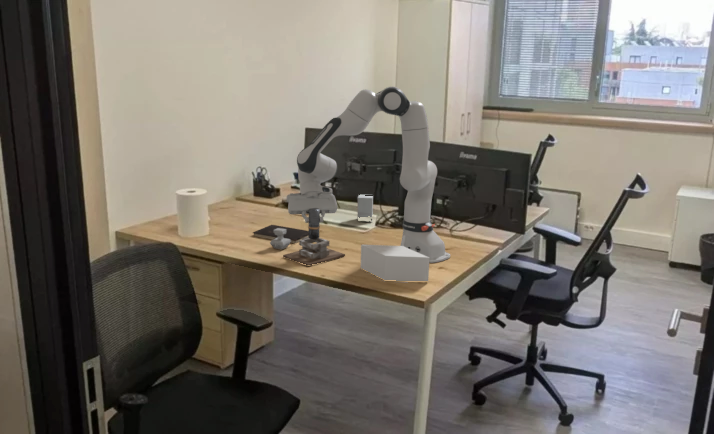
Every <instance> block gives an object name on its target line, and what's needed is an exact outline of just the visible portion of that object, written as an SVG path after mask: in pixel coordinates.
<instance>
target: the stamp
mask: <svg viewBox="0 0 714 434" xmlns="http://www.w3.org/2000/svg"><path fill="white" fill-rule="evenodd" d="M273 231H274V233H275V235H277V236H278V238H275V239H270V242H269V244H270V246H271V247H272V248H273V249H276V250H284V249H286V248H288V247H289V245H290V244H292V243H291V240H290V239H287V238H283V236H284V235H285V234H286V229H281V228H277V229H275V230H273Z"/></svg>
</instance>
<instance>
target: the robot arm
mask: <svg viewBox="0 0 714 434" xmlns="http://www.w3.org/2000/svg"><path fill="white" fill-rule="evenodd" d="M379 112H383V113H385V114H387V115H392V116H398V118H399V119H400V120H399V121H400V128H401V129H400V130H401V137H402V139H401V140H402V161H401V172H400V176H399V183H400V185H401V187H402V188H403V189H404V190H406V191H407V194H406V197H405V200H404V208H403V209H404V211H403V212H404V213H403V214H404V215H403V219H402V237H401V241H400V245H399V246H404V247H406V248H408V249H411V250H413V251H415V252H418V253H420V254H422V255H425V256H427V257H429V264H430V263H431V264H432V263H439V262H443V261H446V260H449V258H451V254H450V253H449V252H446V245H445V242H444V240H442V238H441V237H440V236H439V234H437V232H435V231H434V227H436V226H435V225H436V223H433V224H432V220H431V213H432V211H431V209H432V199H433V194H434V190H435V183H436V178H437V175H438V168H437V165H436V164H435V163H434V162H433V161H432V160H429V153H430V147H431V143H430V131H429V121H428V115H427V112H426V108H425V105H424V104H423V103H422V102H420V101H416V100H409V99H408V98H407V96H406V94H405V92H404V91H403V90H402V89H400V87H397V86H391V85H390V86H388V87H385V88H384V89H382V90H381V91H378V92H377V93H376V92H374V91H373V90H371V89H362V90H360V91H359V92H358V93H357V94H356V95H355V97H353V99H351V101H350V103H348V105H347V107H346V108H345V109H344V111H343V112H342V113H340V115H338V116H337V117H333V118H331V119H330V120H329V121H328V122H327V123H326V124H325V125H324V126H323V127H322V129H320V131H319V132H318V134H317V135H315V137H314V138H313V139H312V141H310V143H309V144H308V145H307V146H305V147H304V148H303V149H302V150H300V152H299V153H298V155H297V157H296V163H297V164H296V165H297V170H298V171H297V173H298V182H299V183H300V184H299V192H297V193H295V192H294V193H292V192H290V193H289V194H287V196H286V202H287V203H288V206H287V211H288V213H289V214H290V215H301V217H302V218H303V220H304V222H305V223H306V224H307V223H308V224H309V216H307V215H309V209H310V208H318V209H320V223H324V217H325V215H326V214H335V213H337V211H338V203H337V199H336V196H335V195H334V194H333V188H330V187H328V186H324V185H321V184H322V183H326V182H328V181H330V180H332V179H333V178H335V177H336V175H337V172H338V163H337V161H336V160H335V159H333V158H331V157H329V156H327V155H325V154H323V153H321V152H322V151H323V150H324V149H325V148H326V147H327V146H328V144H329V143H330V142H331V141H332V140H333V139H334V138H336V137H340V136H348V137H349V136H358V135H360V134H362V133H363V132H364V131H365V130H366V128H367V127H368V126H369V124H370V122H371V121H372V119H373V118H374V116H376V115H377V113H379Z"/></svg>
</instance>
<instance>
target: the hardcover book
mask: <svg viewBox="0 0 714 434" xmlns="http://www.w3.org/2000/svg"><path fill="white" fill-rule="evenodd" d="M277 228H281V229H286V234H285V235H284V236H283V238H287V239H290V240H291V243H290V244H295V243H296V244H299V240H302V238H305V237H309V230H306V229H301V228H300V229H299V228H295V227H288V226H283V225H276V224H270V225H268V226H265V227H262V228H260V229H258V230H255V231H253V232H252V234H253V237H258V238H263V239H269V240H273V239H275V238H278V236H277V235H275V233H274V231H273V230H275V229H277Z"/></svg>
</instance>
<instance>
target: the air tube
mask: <svg viewBox="0 0 714 434" xmlns="http://www.w3.org/2000/svg"><path fill="white" fill-rule="evenodd" d="M308 217H309V223H308V231H309V238H310V239H318V238H320V229H321V225H320V224H321V222H320V217H321V214H320V209H318V208H310V209H309V214H308Z"/></svg>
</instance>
